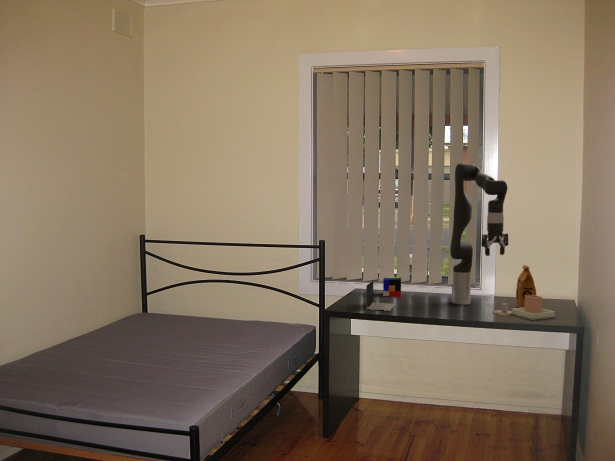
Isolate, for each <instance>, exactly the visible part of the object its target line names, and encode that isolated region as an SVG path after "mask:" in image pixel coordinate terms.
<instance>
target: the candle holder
mask: <svg viewBox="0 0 615 461" xmlns="http://www.w3.org/2000/svg"><path fill="white" fill-rule="evenodd" d="M500 306H501V307H500V309H498V310H492V314H495V315H498V316H502V317H507V316H514V315H513V313H512V310H508V309H509V304H508V303H505V302H503V303H501V304H500Z"/></svg>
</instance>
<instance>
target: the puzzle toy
mask: <svg viewBox="0 0 615 461" xmlns="http://www.w3.org/2000/svg"><path fill="white" fill-rule="evenodd" d="M382 282H383V283H382V284H383V285H382V288H383V290H382V293H383V294H382V296H394V297H393V298H401V297H402V277H401V276H384V277H383V281H382Z"/></svg>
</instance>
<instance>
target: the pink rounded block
mask: <svg viewBox="0 0 615 461" xmlns="http://www.w3.org/2000/svg"><path fill="white" fill-rule="evenodd" d="M542 304H543V297H542V296H540V295H537V294H536V295H528V296H525V309H524V311H525V312H528V313H541V312H542V307H543V305H542Z"/></svg>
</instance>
